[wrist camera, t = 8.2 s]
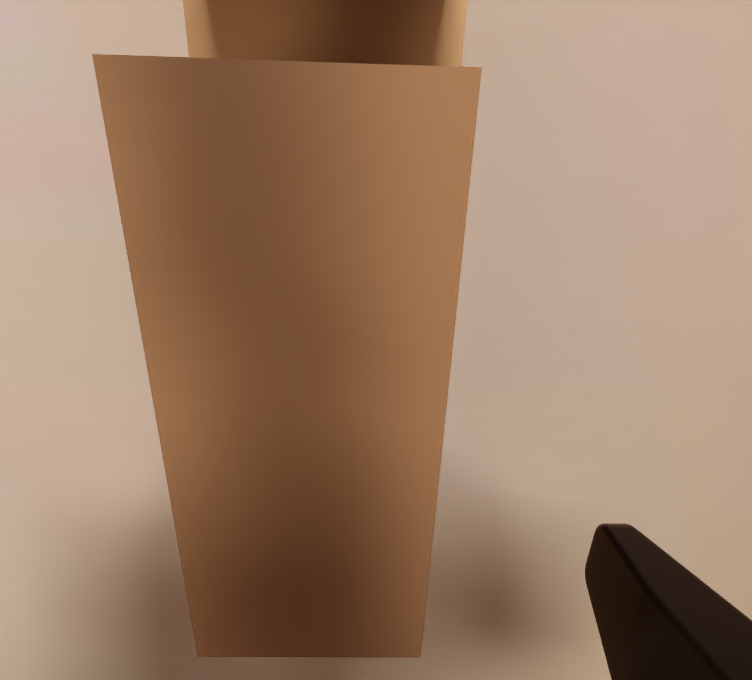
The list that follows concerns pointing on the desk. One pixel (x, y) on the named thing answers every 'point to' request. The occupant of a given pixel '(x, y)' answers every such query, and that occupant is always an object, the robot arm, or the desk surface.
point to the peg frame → (328, 30)
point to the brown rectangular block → (296, 331)
